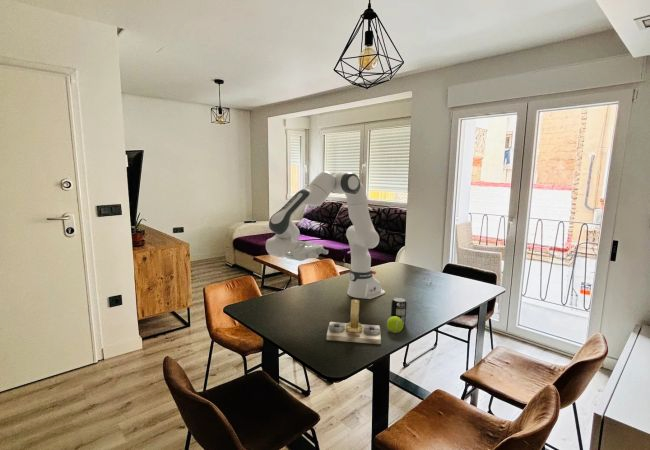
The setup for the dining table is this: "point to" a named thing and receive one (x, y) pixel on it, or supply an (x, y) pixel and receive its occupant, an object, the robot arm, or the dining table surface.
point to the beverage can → (399, 308)
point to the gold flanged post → (354, 318)
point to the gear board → (366, 336)
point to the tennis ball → (395, 324)
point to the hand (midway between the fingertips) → (322, 254)
